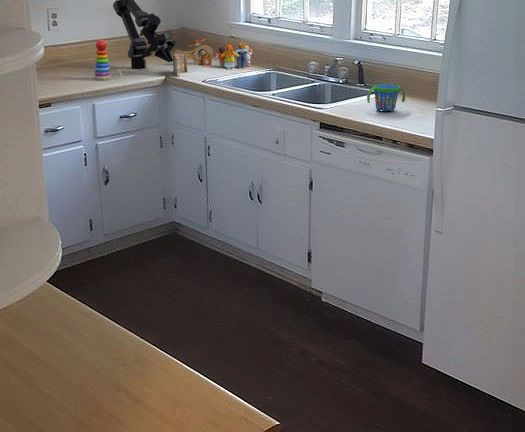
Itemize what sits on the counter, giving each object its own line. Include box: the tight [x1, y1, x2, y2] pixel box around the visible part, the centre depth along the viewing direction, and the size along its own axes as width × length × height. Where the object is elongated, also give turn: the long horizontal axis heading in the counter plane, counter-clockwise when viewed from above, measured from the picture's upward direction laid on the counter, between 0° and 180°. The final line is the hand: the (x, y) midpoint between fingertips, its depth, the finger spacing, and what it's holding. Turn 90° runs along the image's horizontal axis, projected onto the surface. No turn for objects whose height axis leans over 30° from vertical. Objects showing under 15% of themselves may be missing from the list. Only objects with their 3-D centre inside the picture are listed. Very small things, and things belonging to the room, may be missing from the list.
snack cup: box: [366, 83, 406, 111], centre depth 330 cm, size 16×10×10 cm
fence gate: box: [172, 52, 181, 77], centre depth 397 cm, size 12×2×9 cm, turn 14°
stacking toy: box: [93, 39, 112, 81], centre depth 388 cm, size 8×8×19 cm
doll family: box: [215, 42, 254, 71], centre depth 415 cm, size 21×10×13 cm, turn 115°
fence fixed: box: [177, 53, 188, 73], centre depth 403 cm, size 4×2×9 cm, turn 105°
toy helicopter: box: [173, 38, 214, 66], centre depth 423 cm, size 8×21×14 cm, turn 96°
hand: (171, 61), depth 396 cm, fingers closed
